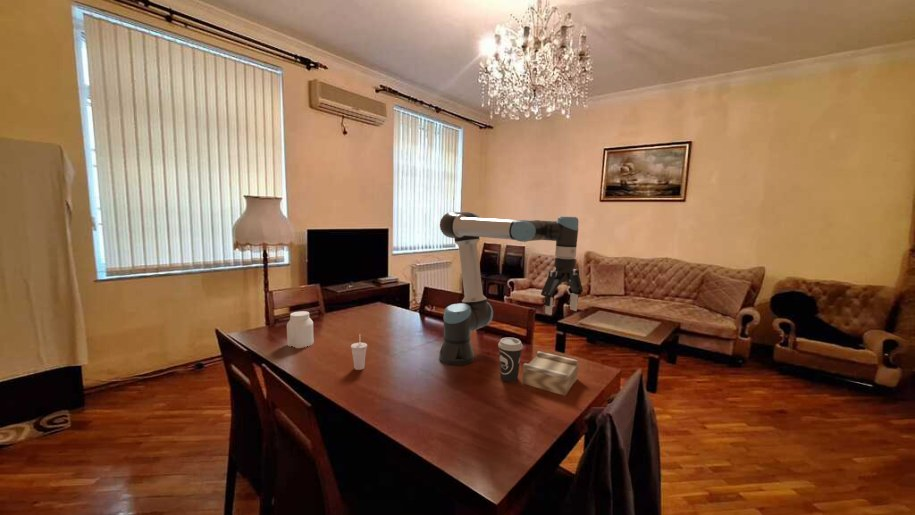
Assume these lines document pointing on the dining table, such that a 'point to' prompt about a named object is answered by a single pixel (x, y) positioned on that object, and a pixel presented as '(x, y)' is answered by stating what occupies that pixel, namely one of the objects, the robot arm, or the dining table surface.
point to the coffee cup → (509, 358)
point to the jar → (300, 330)
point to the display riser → (551, 373)
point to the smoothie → (359, 354)
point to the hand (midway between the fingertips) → (561, 312)
